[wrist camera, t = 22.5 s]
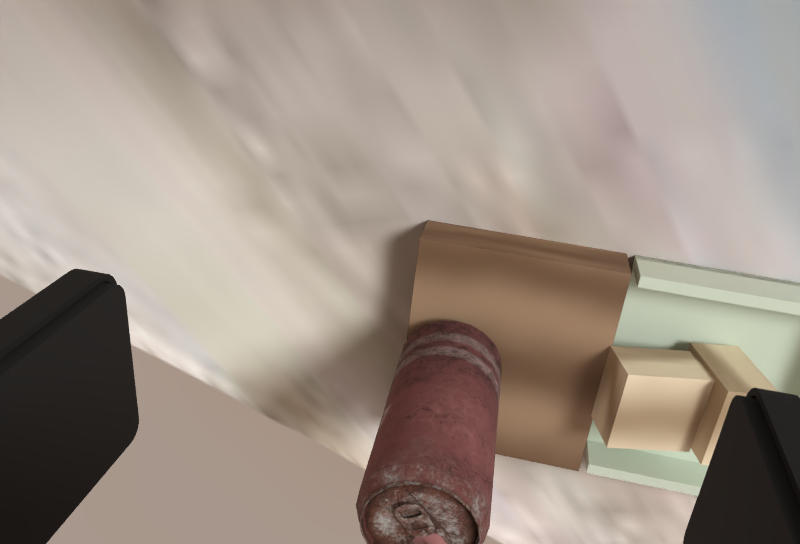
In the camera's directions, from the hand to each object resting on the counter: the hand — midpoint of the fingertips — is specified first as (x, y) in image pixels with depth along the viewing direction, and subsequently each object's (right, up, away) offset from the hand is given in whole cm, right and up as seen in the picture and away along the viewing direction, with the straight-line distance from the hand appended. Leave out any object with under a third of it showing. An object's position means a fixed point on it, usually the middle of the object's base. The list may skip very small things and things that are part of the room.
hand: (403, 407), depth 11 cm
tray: (+19, -4, +34) cm, 39 cm away
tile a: (+14, -5, +32) cm, 36 cm away
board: (+7, -2, +35) cm, 36 cm away
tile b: (+17, -5, +31) cm, 35 cm away
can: (+3, -3, +33) cm, 34 cm away
